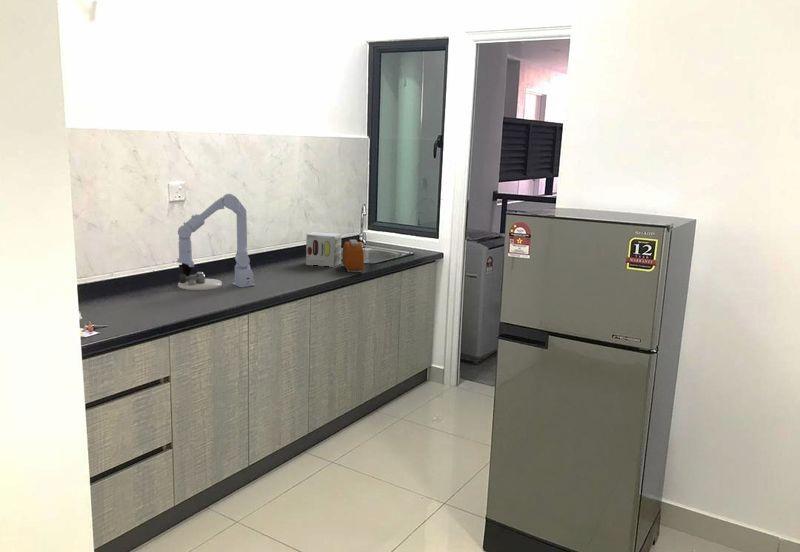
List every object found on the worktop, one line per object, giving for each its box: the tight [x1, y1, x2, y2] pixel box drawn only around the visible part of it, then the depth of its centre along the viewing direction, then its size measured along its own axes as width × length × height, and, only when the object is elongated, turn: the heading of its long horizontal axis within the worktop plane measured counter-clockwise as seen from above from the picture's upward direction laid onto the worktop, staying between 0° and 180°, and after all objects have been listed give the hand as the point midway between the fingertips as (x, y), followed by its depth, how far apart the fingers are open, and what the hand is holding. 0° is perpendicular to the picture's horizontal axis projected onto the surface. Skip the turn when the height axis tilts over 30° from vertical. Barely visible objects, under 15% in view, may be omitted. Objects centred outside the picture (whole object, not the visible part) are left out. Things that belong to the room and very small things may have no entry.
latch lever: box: [179, 271, 206, 283], centre depth 306 cm, size 12×4×5 cm, turn 131°
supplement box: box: [305, 231, 342, 268], centre depth 372 cm, size 17×13×18 cm
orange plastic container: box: [341, 239, 365, 273], centre depth 362 cm, size 23×9×17 cm, turn 12°
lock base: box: [177, 278, 223, 291], centre depth 308 cm, size 20×20×4 cm
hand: (186, 279), depth 306 cm, fingers closed
